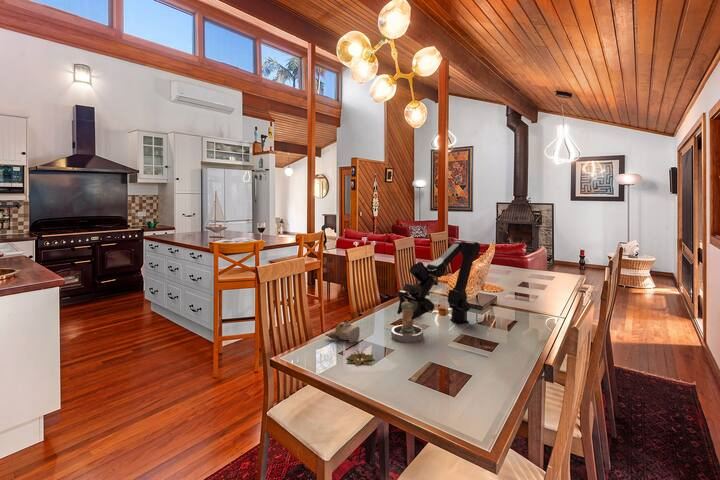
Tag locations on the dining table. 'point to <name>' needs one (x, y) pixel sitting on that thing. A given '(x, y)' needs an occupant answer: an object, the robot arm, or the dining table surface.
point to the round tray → (407, 338)
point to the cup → (414, 306)
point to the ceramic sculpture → (345, 332)
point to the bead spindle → (407, 319)
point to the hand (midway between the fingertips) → (404, 316)
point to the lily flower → (359, 356)
